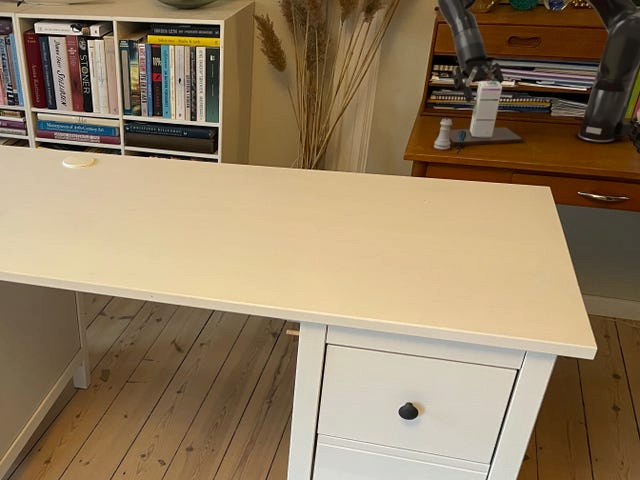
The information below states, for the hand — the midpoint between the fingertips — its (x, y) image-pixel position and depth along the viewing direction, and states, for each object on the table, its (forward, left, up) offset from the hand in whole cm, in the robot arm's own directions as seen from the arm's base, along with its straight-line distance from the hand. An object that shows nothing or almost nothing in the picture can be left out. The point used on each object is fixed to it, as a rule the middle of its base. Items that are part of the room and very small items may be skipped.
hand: (483, 99), depth 212 cm
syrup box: (0, +2, -10) cm, 10 cm away
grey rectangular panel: (0, +2, -11) cm, 11 cm away
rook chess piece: (+14, +9, -11) cm, 19 cm away
